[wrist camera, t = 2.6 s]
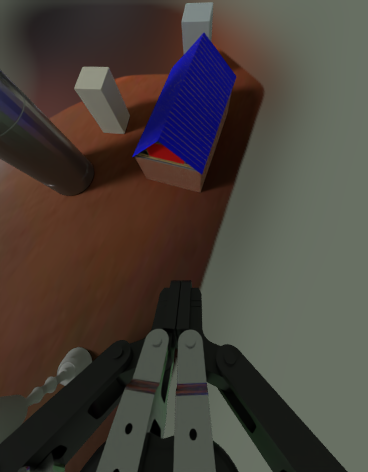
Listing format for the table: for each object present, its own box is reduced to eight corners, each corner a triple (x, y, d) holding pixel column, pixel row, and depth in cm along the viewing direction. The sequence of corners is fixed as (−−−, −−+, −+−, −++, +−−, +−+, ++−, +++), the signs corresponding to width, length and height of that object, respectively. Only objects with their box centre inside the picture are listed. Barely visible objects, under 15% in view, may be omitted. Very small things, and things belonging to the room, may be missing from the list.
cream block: (103, 132, 37) (74, 88, 28) (109, 114, 38) (82, 66, 29) (124, 133, 36) (100, 89, 28) (130, 115, 37) (108, 67, 29)
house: (144, 180, 33) (116, 131, 22) (177, 103, 37) (167, 28, 26) (201, 195, 31) (202, 150, 20) (229, 112, 35) (243, 36, 24)
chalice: (59, 341, 28) (-183, 456, 10) (97, 338, 27) (-86, 453, 10) (55, 393, 26) (-244, 639, 8) (96, 391, 25) (-130, 647, 8)
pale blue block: (185, 79, 38) (181, 22, 29) (189, 63, 39) (186, 3, 31) (207, 80, 38) (209, 21, 29) (210, 63, 39) (213, 2, 30)
